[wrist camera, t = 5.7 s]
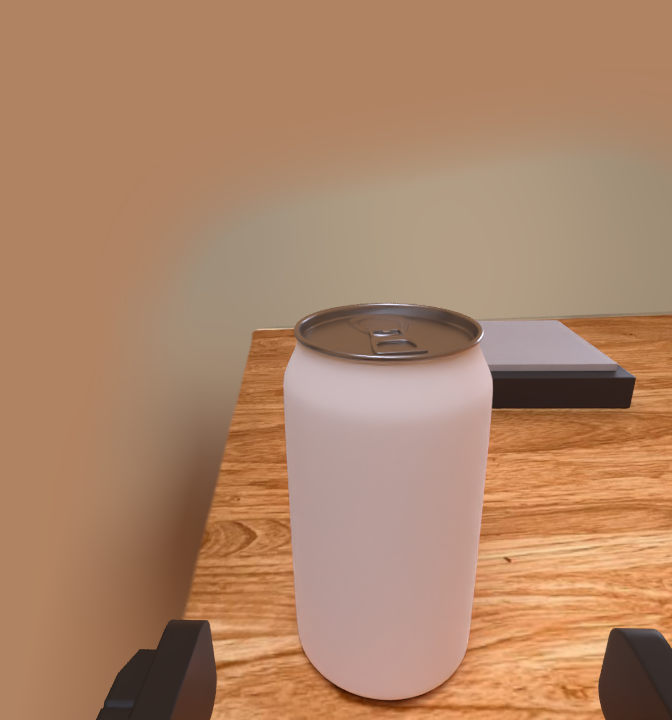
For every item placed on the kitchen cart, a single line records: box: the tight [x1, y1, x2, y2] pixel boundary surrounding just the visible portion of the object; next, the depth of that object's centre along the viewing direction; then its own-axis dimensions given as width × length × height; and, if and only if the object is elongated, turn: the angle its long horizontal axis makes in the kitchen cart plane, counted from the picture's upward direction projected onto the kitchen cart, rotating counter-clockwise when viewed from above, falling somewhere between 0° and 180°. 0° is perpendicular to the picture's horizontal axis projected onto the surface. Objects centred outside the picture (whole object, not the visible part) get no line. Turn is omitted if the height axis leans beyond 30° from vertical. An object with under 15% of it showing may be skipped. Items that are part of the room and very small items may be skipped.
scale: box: [477, 320, 636, 408], centre depth 43 cm, size 14×14×3 cm
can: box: [284, 303, 493, 700], centre depth 17 cm, size 6×6×12 cm
